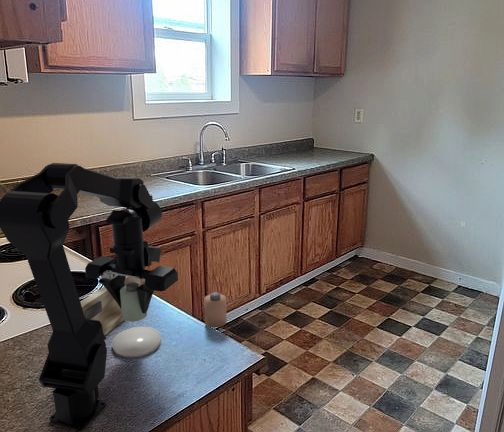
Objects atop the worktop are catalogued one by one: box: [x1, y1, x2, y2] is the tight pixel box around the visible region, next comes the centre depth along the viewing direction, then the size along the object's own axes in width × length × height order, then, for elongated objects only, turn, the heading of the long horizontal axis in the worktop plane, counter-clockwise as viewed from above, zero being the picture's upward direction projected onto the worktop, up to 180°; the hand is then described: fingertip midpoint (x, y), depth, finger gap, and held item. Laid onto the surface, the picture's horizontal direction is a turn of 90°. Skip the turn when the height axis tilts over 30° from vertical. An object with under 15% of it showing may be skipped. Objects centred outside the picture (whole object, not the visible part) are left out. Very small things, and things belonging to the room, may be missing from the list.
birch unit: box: [80, 276, 139, 336], centre depth 101 cm, size 22×5×8 cm, turn 159°
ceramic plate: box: [111, 326, 162, 358], centre depth 93 cm, size 10×10×1 cm
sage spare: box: [120, 282, 148, 323], centre depth 90 cm, size 5×5×7 cm
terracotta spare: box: [203, 291, 227, 328], centre depth 100 cm, size 5×5×7 cm
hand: (134, 310), depth 90 cm, fingers closed on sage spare, 5 cm apart
